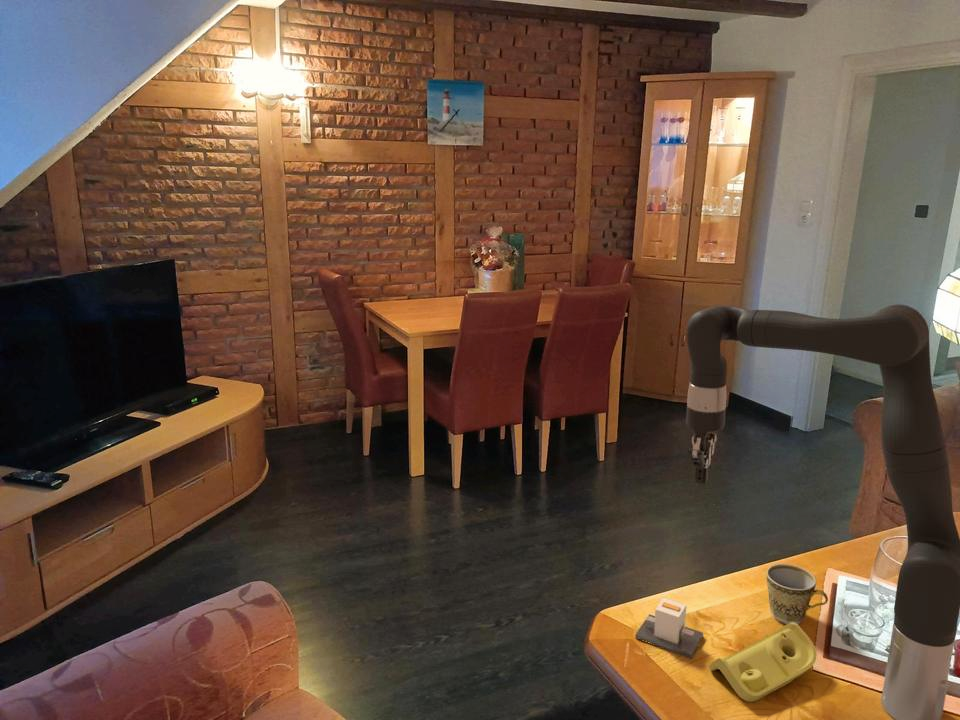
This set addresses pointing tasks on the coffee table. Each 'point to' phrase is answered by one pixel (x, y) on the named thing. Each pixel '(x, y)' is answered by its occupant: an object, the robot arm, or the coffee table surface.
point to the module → (669, 620)
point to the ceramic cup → (791, 592)
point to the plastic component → (768, 663)
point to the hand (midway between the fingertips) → (701, 481)
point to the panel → (685, 646)
